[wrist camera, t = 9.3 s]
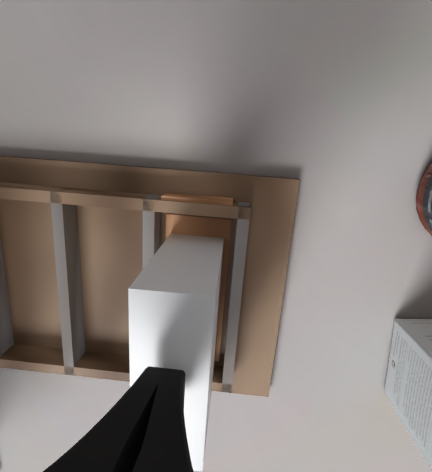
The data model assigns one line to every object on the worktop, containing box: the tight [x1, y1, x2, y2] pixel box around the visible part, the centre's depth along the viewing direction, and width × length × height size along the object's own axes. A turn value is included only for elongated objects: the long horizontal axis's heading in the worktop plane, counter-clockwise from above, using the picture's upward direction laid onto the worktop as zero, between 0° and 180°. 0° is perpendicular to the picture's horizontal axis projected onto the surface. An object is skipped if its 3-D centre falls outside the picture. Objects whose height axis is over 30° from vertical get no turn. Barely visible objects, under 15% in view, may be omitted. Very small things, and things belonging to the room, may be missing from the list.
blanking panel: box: [128, 234, 224, 471], centre depth 15 cm, size 3×8×7 cm, turn 177°
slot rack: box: [0, 156, 300, 397], centre depth 18 cm, size 20×14×2 cm
